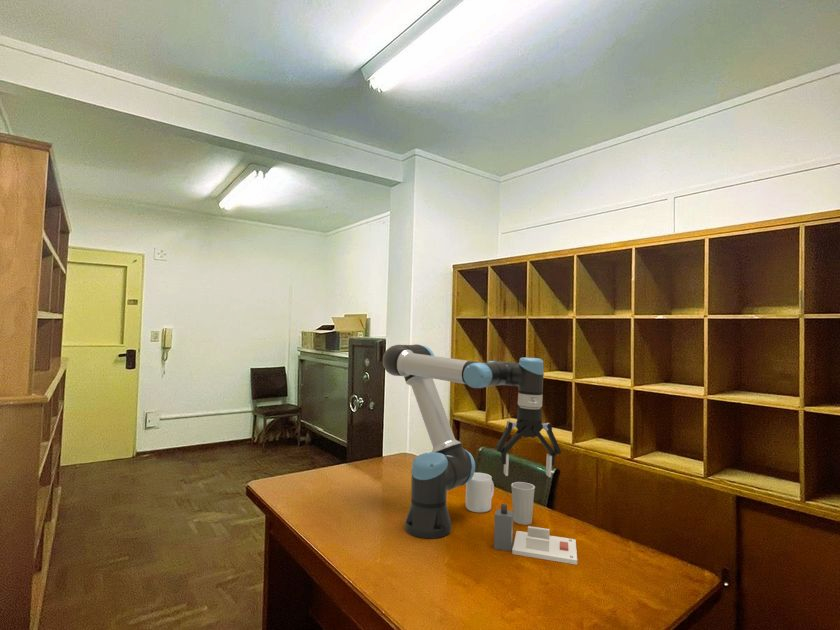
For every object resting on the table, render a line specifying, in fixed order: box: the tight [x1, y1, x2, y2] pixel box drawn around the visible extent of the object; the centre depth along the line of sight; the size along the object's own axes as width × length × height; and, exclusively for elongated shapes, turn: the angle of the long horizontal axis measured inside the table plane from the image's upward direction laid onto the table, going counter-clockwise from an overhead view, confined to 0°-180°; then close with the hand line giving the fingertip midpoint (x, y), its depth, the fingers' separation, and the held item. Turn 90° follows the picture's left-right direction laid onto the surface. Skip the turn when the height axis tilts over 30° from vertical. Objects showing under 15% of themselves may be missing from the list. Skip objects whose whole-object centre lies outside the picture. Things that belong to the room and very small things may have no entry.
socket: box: [511, 525, 578, 566], centre depth 135 cm, size 18×14×4 cm
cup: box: [510, 481, 536, 525], centre depth 156 cm, size 8×8×12 cm
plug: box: [493, 503, 514, 553], centre depth 136 cm, size 5×5×12 cm
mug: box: [465, 472, 495, 514], centre depth 167 cm, size 10×12×12 cm
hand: (527, 475), depth 140 cm, fingers open, 13 cm apart
